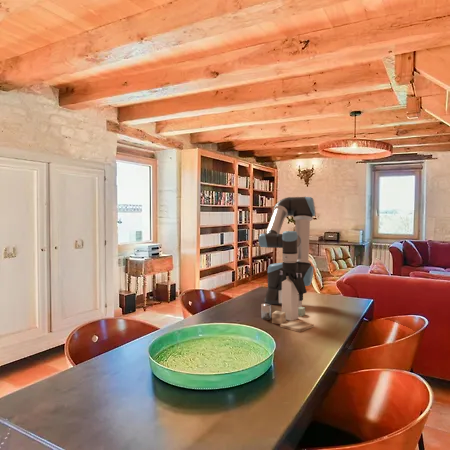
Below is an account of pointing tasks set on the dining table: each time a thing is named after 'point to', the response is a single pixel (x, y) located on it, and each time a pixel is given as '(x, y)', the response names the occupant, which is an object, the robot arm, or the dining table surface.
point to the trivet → (297, 325)
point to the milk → (289, 299)
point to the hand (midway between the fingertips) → (290, 304)
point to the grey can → (266, 311)
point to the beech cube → (278, 317)
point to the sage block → (301, 311)
